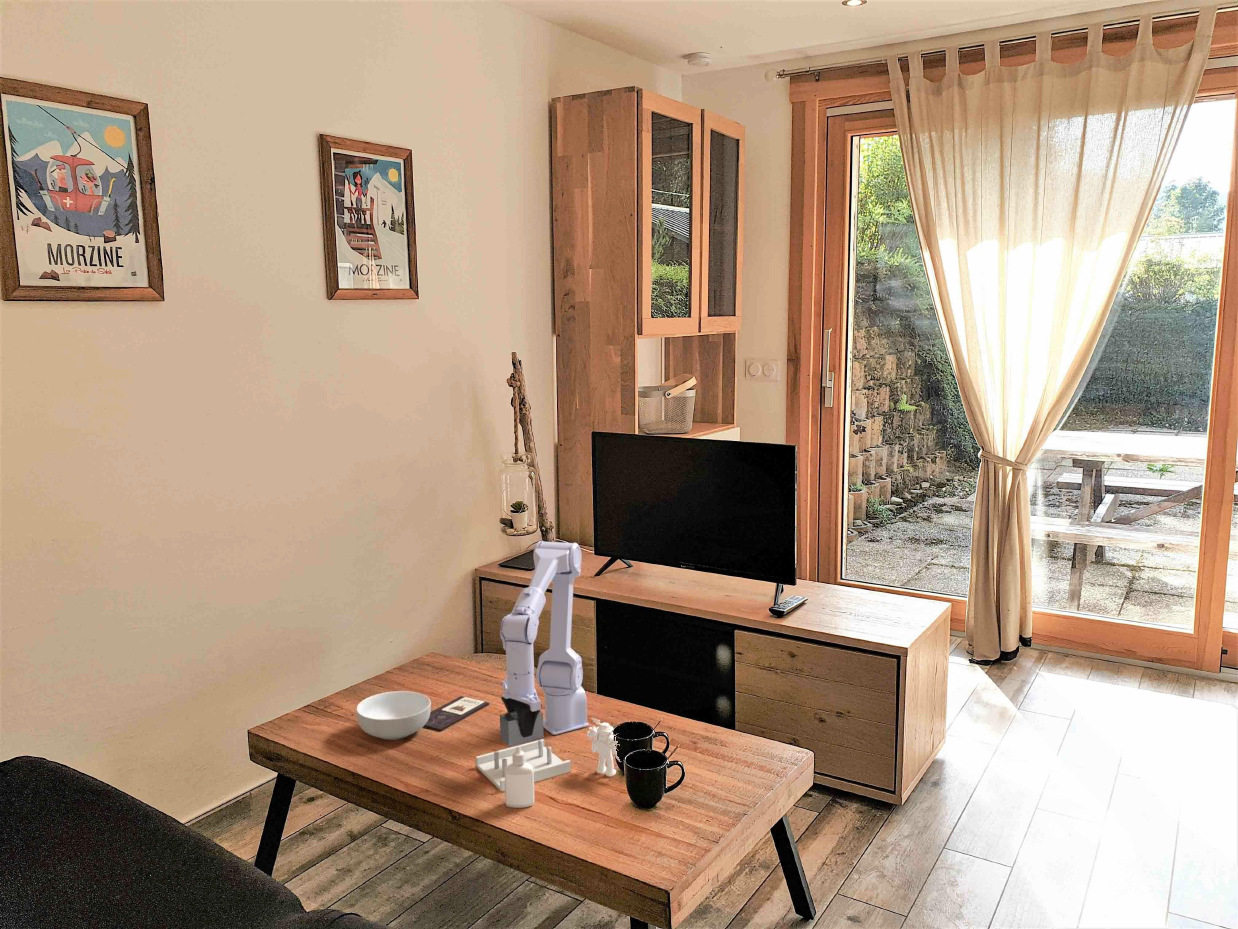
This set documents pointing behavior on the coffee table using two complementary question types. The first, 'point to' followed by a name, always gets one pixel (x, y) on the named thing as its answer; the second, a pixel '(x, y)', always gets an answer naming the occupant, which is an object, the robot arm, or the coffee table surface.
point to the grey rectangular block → (518, 729)
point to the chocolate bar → (453, 713)
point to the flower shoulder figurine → (604, 746)
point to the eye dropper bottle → (519, 781)
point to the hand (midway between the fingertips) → (522, 732)
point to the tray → (534, 755)
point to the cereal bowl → (393, 714)
